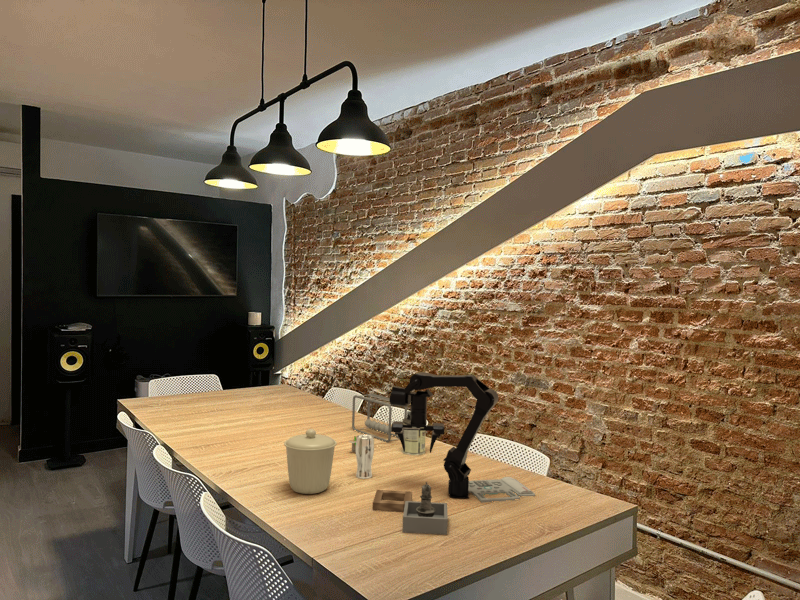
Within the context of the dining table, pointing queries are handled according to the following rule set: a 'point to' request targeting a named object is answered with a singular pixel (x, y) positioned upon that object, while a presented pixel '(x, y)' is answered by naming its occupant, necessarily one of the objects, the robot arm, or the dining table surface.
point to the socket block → (391, 495)
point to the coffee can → (414, 440)
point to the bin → (425, 519)
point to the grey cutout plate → (498, 489)
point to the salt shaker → (425, 503)
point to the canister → (309, 461)
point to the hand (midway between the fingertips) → (417, 451)
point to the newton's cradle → (374, 424)
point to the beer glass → (364, 455)
